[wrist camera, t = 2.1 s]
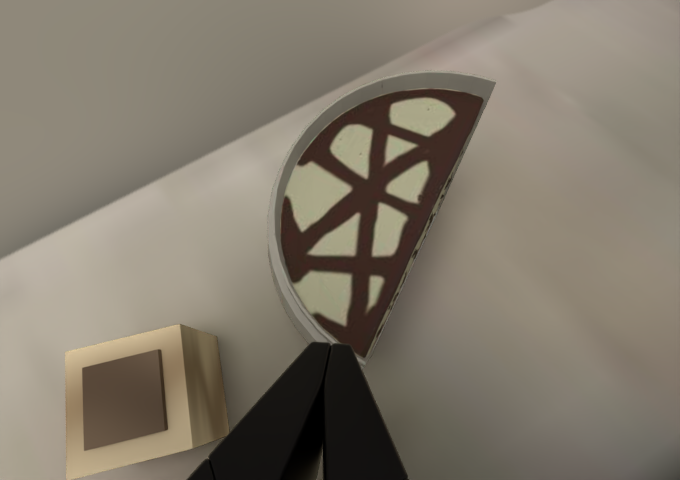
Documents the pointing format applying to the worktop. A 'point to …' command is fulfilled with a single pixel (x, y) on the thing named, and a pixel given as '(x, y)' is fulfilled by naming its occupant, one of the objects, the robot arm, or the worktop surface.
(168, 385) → the number block
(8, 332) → the worktop surface
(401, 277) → the food container
